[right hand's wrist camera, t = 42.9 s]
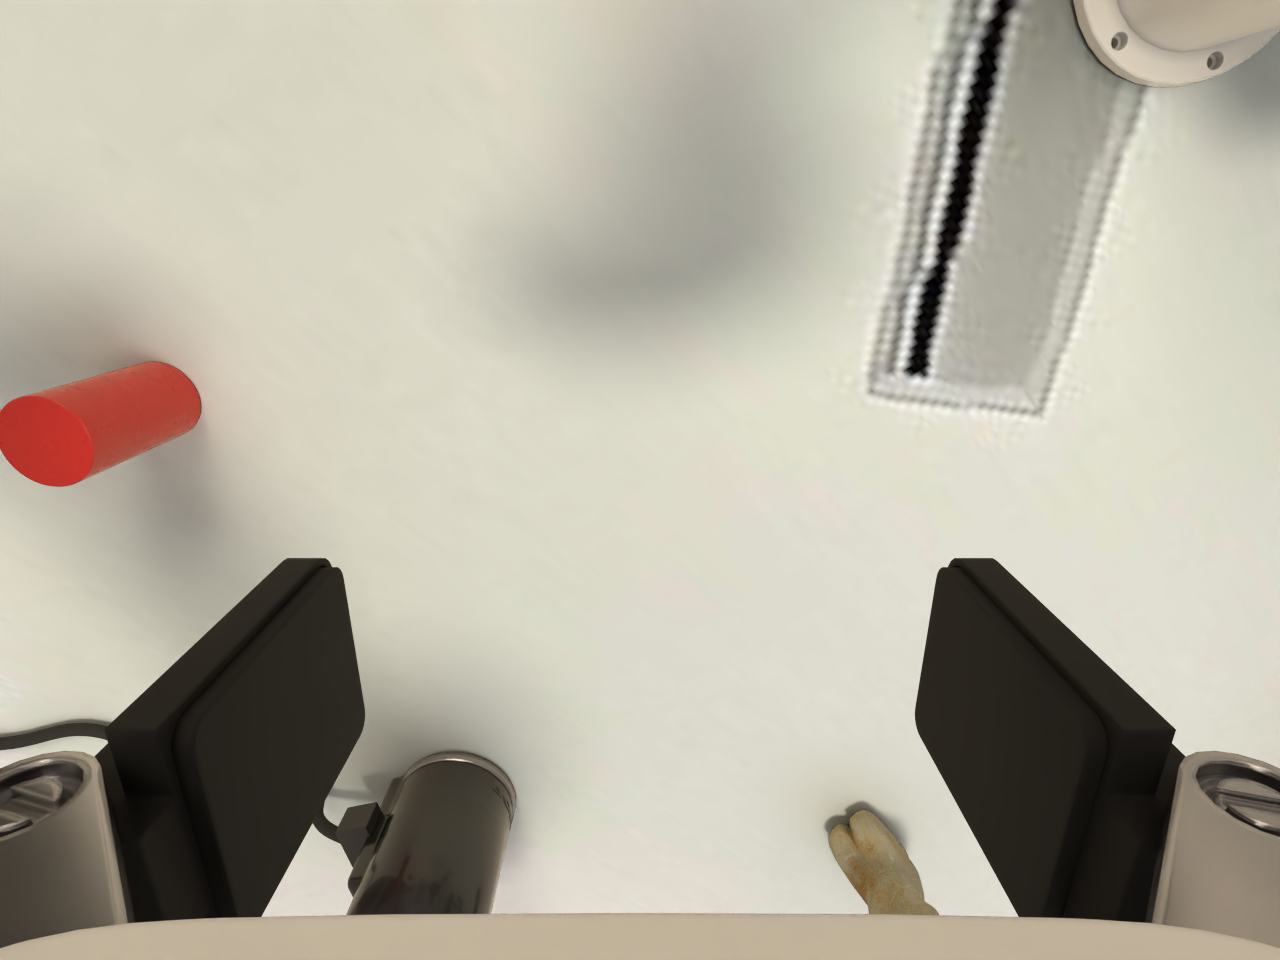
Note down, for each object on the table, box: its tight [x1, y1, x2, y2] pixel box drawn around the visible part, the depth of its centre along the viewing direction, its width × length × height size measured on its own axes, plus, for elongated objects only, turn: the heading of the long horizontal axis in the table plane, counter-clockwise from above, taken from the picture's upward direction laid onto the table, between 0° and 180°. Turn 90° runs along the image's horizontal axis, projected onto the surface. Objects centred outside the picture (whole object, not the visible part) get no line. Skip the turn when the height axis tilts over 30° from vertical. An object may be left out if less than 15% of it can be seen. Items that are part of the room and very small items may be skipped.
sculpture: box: [829, 810, 939, 915], centre depth 51 cm, size 6×7×15 cm
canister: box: [0, 362, 201, 487], centre depth 41 cm, size 5×5×10 cm
